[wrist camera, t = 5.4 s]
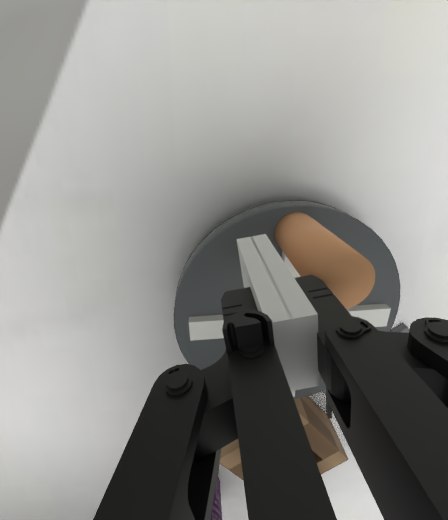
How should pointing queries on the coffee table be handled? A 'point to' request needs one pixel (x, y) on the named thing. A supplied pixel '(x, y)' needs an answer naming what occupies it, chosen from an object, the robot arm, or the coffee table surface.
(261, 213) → the handwheel
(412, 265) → the coffee table surface
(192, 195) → the coffee table surface
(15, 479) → the coffee table surface
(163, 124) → the coffee table surface
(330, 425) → the block
